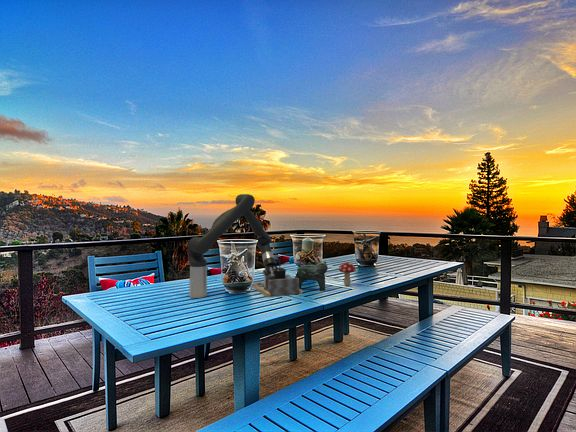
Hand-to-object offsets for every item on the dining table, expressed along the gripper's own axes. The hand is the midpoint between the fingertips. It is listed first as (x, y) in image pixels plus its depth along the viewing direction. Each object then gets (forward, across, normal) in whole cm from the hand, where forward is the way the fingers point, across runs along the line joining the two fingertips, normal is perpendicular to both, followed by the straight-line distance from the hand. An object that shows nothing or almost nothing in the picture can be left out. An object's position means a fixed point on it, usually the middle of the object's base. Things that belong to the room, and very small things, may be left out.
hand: (275, 283), depth 209 cm
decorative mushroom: (+8, +47, -2) cm, 48 cm away
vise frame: (+3, 0, +4) cm, 4 cm away
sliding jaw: (+4, 0, +2) cm, 5 cm away
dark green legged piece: (+9, +20, -3) cm, 22 cm away
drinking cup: (+8, 0, -1) cm, 8 cm away
